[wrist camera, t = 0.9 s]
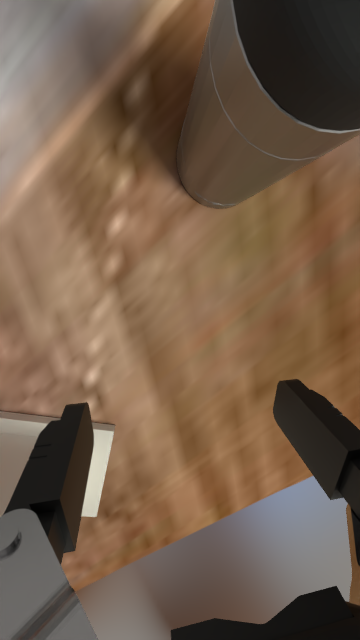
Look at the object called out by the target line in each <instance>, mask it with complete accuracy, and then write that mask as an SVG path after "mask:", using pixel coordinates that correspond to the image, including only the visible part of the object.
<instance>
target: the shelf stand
mask: <svg viewBox="0 0 360 640" xmlns="http://www.w3.org/2000/svg"><path fill="white" fill-rule="evenodd" d="M60 419H61V418H53V417H45V416H37V415H29V414H21V413H13V412H5V411H0V517H1V516H2V515H3V514H4V512H5V510H6V508H7V506H8V504H9V502H10V499H11V497H12V495H13V493H14V490H15V488H16V486H17V484H18V481H19V479H20V477H21V474H22V472H23V470H24V468H25V465H26V463H27V461H29V456H30V454H31V452H32V450H33V449H34V445H35V443H36V441H37V438H38V436H39V434H40V432H41V431H42V430H43V429H44V428H45V427H46V426H47V425H48V424H49V423H50V421H55V420H60ZM92 426H93V432H94V447H93V453H92V459H91V465H90V470H89V476H88V481H87V487H86V492H85V498H84V504H83V509H82V515H81V516H88V517H96V516H97V511H98V507H99V502H100V497H101V492H102V487H103V483H104V478H105V473H106V468H107V463H108V458H109V454H110V449H111V444H112V439H113V434H114V430H115V425H110V424H102V423H94V422H92Z"/></svg>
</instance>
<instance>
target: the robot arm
mask: <svg viewBox="0 0 360 640" xmlns="http://www.w3.org/2000/svg"><path fill="white" fill-rule="evenodd" d="M359 134H360V0H215V4H214V7H213V13H212V17H211V20H210V24H209V28H208V32H207V36H206V40H205V43H204V47H203V51H202V55H201V59H200V63H199V67H198V70H197V74H196V78H195V82H194V86H193V90H192V93H191V97H190V101H189V105H188V109H187V113H186V117H185V120H184V123H183V127H182V131H181V135H180V139H179V143H178V148H177V168H178V174H179V176H180V179H181V182H182V184H183V186H184V187H185V189H186V191H187V192H188V193H189V194H190V195H191V196H192V197H193V198H194V199H195V200H196V201H198V202H199V203H200V204H203V205H205V206H207V207H211V208H216V209H222V208H229V207H232V206H235V205H237V204H239V203H240V202H242V201H244V200H246V199H248V198H249V197H251V196H253V195H255V194H257V193H259V192H260V191H262V190H264V189H266V188H267V187H269V186H271V185H272V184H274V183H276V182H278V181H279V180H281V179H283V178H285V177H286V176H288V175H290V174H292V173H293V172H295V171H297V170H299V169H300V168H302V167H304V166H306V165H307V164H309V163H311V162H313V161H314V160H316V159H318V158H319V157H321V156H323V155H325V154H326V153H328V152H330V151H332V150H333V149H335V148H336V147H338V146H340V145H342V144H343V143H345V142H347V141H349V140H350V139H352V138H354V137H356V136H357V135H359ZM273 414H274V418H275V420H276V422H277V424H278V426H279V427H280V428H281V430H282V431H283V433H284V434H285V436H286V437H287V438H288V440H289V441H290V443H291V444H292V446H293V447H294V448H295V450H296V451H297V453H298V454H299V456H300V457H301V458H302V460H303V461H304V463H305V464H306V466H307V467H308V468H309V470H310V471H311V473H312V474H313V476H314V477H315V478H316V479H317V481H318V483H319V484H320V486H321V487H322V488H323V490H324V491H325V493H326V494H327V496H328V497H329V498H330V500H333V499H338V498H343V497H344V499H345V500H346V501H347V503H348V505H347V508H346V514H347V524H348V534H349V544H350V554H351V564H352V582H351V587H350V599H349V600H350V601H349V602H346V601H345V600H344V599H343V597H342V595H341V593H340V591H339V590H338V588H337V586H334V587H331V588H327V589H323V590H319V591H315V592H312V593H308V594H304V595H301V596H299V597H297V598H296V599H295V600H294V601H293V602H291V603H290V604H289V605H288V606H286V607H285V608H284V609H283V610H282V611H280V612H279V613H278V614H277V615H276V616H274V617H273V618H272V619H271V620H270V621H268V622H267V623H265V624H253V623H245V622H238V621H231V620H223V619H216V618H214V619H211V620H207V621H203V622H200V623H196V624H192V625H188V626H185V627H181V628H177V629H173V630H171V640H360V430H359V429H358V428H357V427H356V426H355V425H354V424H353V423H352V422H350V421H349V420H348V419H347V418H346V417H345V416H343V415H342V413H341V412H340V411H339V410H338V409H337V408H334V406H333V405H332V404H331V403H330V402H329V401H328V400H327V399H326V398H325V397H323V396H322V395H320V394H318V393H317V392H315V391H313V390H309V389H308V388H307V387H306V386H305V385H304V384H303V383H302V382H301V381H300V380H298V379H293V380H284V381H280V382H279V383H278V385H277V390H276V396H275V401H274V407H273ZM93 447H94V432H93V426H92V421H91V415H90V410H89V405H88V403H87V402H86V403H78V404H69V405H66V406H65V409H64V411H63V414H62V417H61V419H60V420H55V421H50V423H49V424H48V425H47V426H46V427H45V428H44V429H43V430H42V431H41V432H40V434H39V436H38V438H37V441H36V443H35V445H34V449H33V450H32V452H31V454H30V456H29V461H27V463H26V465H25V468H24V470H23V472H22V474H21V477H20V479H19V481H18V484H17V486H16V488H15V490H14V493H13V495H12V497H11V499H10V502H9V504H8V506H7V508H6V510H5V512H4V514H3V515H2V516H1V517H0V640H98V638H97V636H96V634H95V632H94V630H93V628H92V626H91V624H90V622H89V620H88V617H87V615H86V613H85V611H84V609H83V607H82V605H81V603H80V601H79V599H78V597H77V595H76V593H75V591H74V590H73V588H71V586H70V584H69V582H68V580H67V578H66V576H65V574H64V571H63V569H62V567H61V562H62V557H63V553H66V552H71V551H75V548H76V542H77V537H78V531H79V526H80V520H81V515H82V509H83V504H84V498H85V492H86V487H87V481H88V476H89V470H90V465H91V459H92V453H93Z"/></svg>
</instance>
